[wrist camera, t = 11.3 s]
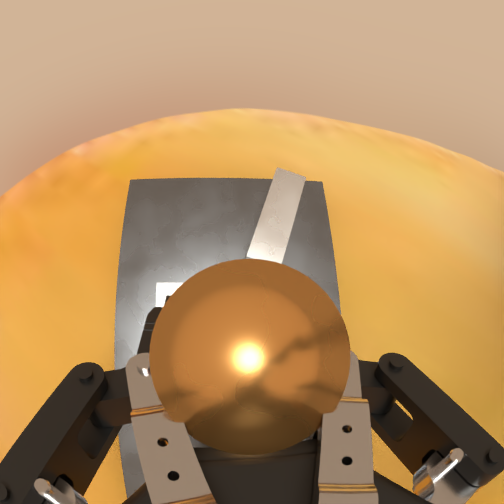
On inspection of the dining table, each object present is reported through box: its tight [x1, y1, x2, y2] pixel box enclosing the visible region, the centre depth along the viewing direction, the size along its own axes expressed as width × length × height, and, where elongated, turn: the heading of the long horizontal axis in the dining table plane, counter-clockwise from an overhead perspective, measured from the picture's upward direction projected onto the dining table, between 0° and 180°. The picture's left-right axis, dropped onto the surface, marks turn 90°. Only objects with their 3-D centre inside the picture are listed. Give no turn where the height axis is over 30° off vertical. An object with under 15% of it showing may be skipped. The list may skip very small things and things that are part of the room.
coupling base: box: [115, 167, 341, 499], centre depth 17 cm, size 24×14×4 cm, turn 2°
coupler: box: [149, 259, 350, 455], centre depth 11 cm, size 5×5×10 cm
